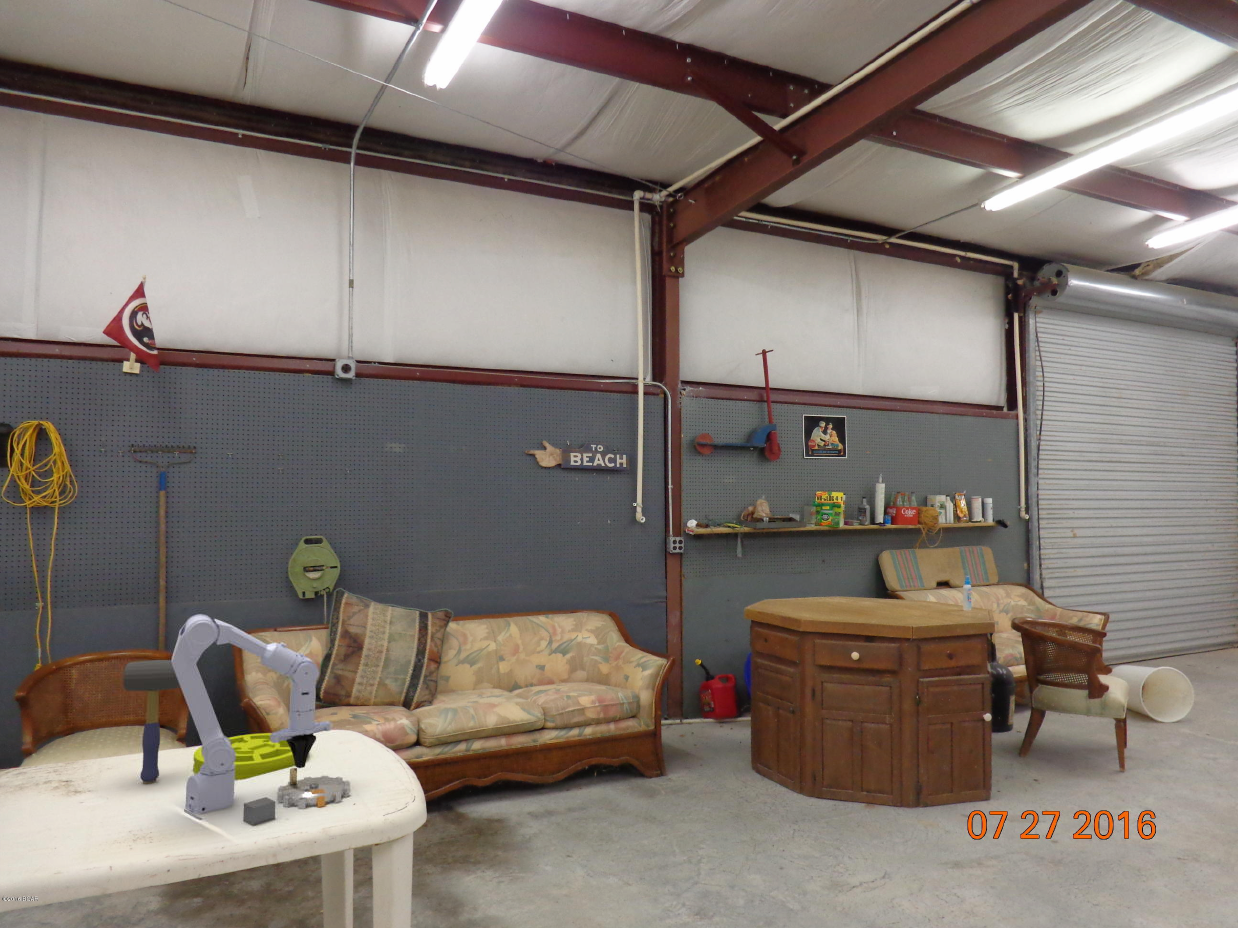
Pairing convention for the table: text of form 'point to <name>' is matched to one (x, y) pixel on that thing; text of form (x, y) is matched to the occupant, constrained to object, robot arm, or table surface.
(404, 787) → the table surface
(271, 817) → the link block
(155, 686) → the rubber mallet
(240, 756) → the pulley
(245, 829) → the table surface
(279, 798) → the wheel
